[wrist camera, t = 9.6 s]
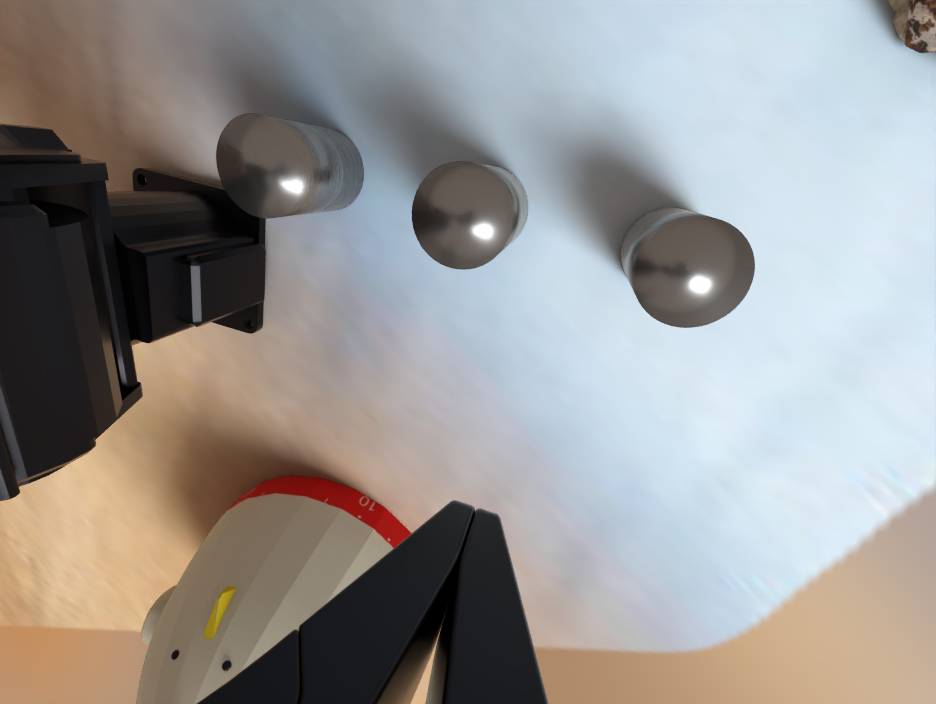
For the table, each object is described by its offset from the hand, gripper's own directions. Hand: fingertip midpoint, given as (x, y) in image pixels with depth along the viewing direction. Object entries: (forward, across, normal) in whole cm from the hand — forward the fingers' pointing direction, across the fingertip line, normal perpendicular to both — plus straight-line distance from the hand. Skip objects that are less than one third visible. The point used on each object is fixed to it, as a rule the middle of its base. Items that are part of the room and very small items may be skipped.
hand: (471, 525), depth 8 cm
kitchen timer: (+13, +8, +19) cm, 24 cm away
